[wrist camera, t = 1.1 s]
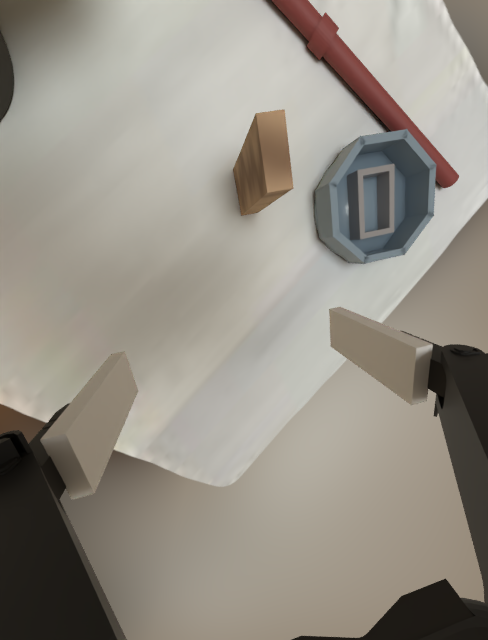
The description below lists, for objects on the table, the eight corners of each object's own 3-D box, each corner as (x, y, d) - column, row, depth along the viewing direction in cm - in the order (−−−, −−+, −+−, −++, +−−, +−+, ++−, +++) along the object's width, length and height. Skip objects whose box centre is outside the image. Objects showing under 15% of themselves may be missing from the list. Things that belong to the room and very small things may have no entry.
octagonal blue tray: (308, 156, 34) (325, 141, 29) (407, 140, 36) (438, 123, 31) (318, 268, 39) (335, 270, 34) (405, 249, 41) (432, 248, 36)
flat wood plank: (233, 169, 33) (255, 113, 20) (250, 166, 33) (284, 109, 20) (241, 215, 35) (267, 192, 21) (257, 212, 35) (293, 188, 22)
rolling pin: (196, -61, 26) (196, -101, 23) (210, -92, 26) (212, -137, 23) (435, 193, 39) (454, 188, 36) (447, 176, 39) (468, 169, 36)
